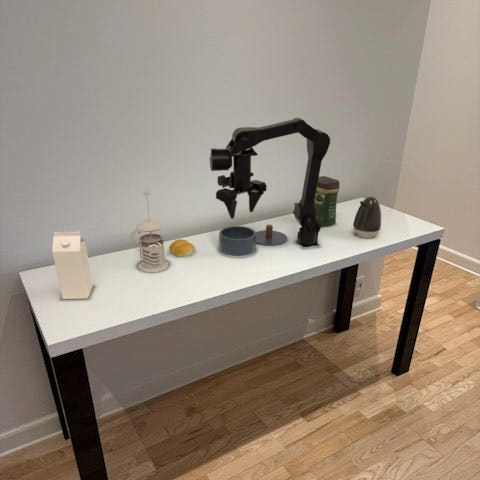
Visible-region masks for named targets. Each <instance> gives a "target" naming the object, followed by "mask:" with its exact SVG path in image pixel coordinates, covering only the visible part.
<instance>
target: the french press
mask: <svg viewBox="0 0 480 480" xmlns="http://www.w3.org/2000/svg"><path fill="white" fill-rule="evenodd" d="M150 195H151V193H150V191H149V190H144V191H143V196H146V203H147V205H146V206H149V199H148V198H149V197H148V196H150ZM149 208H150V207H147V214H148V217H150V209H149ZM163 227H164V225H163V223H161V222H159V221H158V220H155V219H154V220H152V219H150V218H148V220H143V221H141V222H139V223H138V224H137V225H136V229H134V230H133V231H132V232H131V234H130V242H131V244H132V247H133V248H134V249H135V250H137V251H138V252H139V257H140V263H139V264H138V266H137V267H138V269H139V270H140V271H142V272H144V273H145V272H146V273H158V272H161V271H162V272H163V271H164V270H166V269H168V267H169V262H167V261H166V258H165V244H164V240H163V236H162V235H160V234H157V233H154V232H157V231H160V230H162V229H163ZM136 231H137V234H141V233H142V232H144V233H147V234H143V235H141V236H140V237H139V238H138V239H139V242H138V244H137V242H136V240H135V238H132V236H133V237H135V234H136ZM148 233H149V234H148ZM133 241H134V242H133ZM134 244H135V245H136V246H137V247H138V248H137V247H136V246H135V245H134Z"/></svg>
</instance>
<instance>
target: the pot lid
mask: <svg viewBox="0 0 480 480" xmlns="http://www.w3.org/2000/svg"><path fill="white" fill-rule="evenodd" d="M273 229H274V226H273V224H266V225H265V229H264V230H257V231H255V232H256V245H258V246H259V245H260V246H265V247H266V246H267V247H275V246H281V245H284V244H285V243H287V242H288V238H289V237H288V236H287V234H285V233H284V232H281V231H278V230H273Z"/></svg>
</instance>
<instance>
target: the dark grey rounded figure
mask: <svg viewBox="0 0 480 480" xmlns="http://www.w3.org/2000/svg"><path fill="white" fill-rule="evenodd" d="M359 204H360V205H359V207H358V209H357V211H356V214H355V215H354V218H353V223H352V226H353V231H354V233H355V235H357V236H359V237H361V238H363V239H370V238H374V237H376V236H377V235H378V234H379V231H380V230H381V228H382V211H381V210H382V209H381V206H380V202H379V200H378V199H377V198H376V197H374V196H367V197H366V198H364V199H363V200H359Z"/></svg>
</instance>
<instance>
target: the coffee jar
mask: <svg viewBox="0 0 480 480" xmlns="http://www.w3.org/2000/svg"><path fill="white" fill-rule="evenodd" d="M340 187H341V186H340V180H338V179H335V178H333V177H329V176H326V175H321V176H319V178H318V184H317V189H316V195H315V200H314V204H315V211H316V219H315V221H316V222H317V223H318V224H319V225H320V226H321V227H330V226H333V225H335V224H336V221H337V220H336V219H337V201H338V194H339V192H340Z"/></svg>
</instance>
